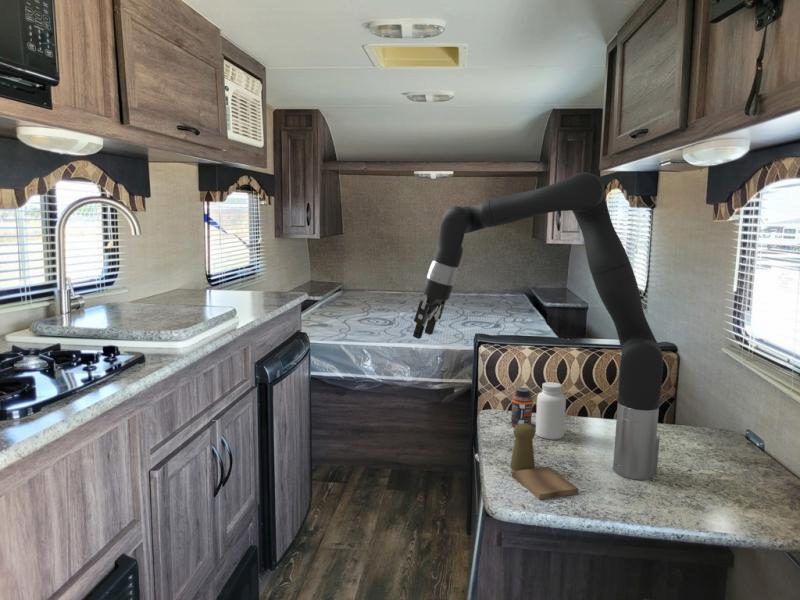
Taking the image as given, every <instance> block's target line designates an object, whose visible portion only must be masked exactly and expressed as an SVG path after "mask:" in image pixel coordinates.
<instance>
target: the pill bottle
mask: <svg viewBox="0 0 800 600" xmlns="http://www.w3.org/2000/svg"><path fill="white" fill-rule="evenodd" d="M562 387H563V386H562V384H561V383H559V382H553V381H549V382H542V387H541V388H542V389H541V392H539V393H538V395H537V397H536V413H535V414H536V418H535V419H536V420H535V435H537V436H538V437H539V438H542V439H545V440H553V441H554V440H561V439H563V438H564V436H565V426H566V405H567V399H566V396H565V395H564V394H563V393H562V392H563V391H562Z"/></svg>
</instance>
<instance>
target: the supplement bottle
mask: <svg viewBox="0 0 800 600" xmlns="http://www.w3.org/2000/svg"><path fill="white" fill-rule="evenodd" d="M530 392H531V390H530V389H529V388H527V387H521V386H520V387H516V389H515V394H514V395H513V396H512V400H511V401H512V402H511V416H510V417H511V421H510V425H512V426H513V427H515V426H516V425H518V424H529V425H531V426H532V417H533V400H534V399H533V397H532V396H531V393H530Z"/></svg>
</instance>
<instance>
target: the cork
mask: <svg viewBox="0 0 800 600" xmlns="http://www.w3.org/2000/svg"><path fill="white" fill-rule="evenodd" d="M513 427H514V426H513ZM513 436H514V437H515V438H514V444H513V448H512V449H513V450H512V455H511V461H510V463H509V464H510V465H509V466H510V467H509V468H510V469H511V470H512V471H519V470H526V469H533V468H536V466H535V454H534V452H535V451H534V443H533V441H534V440H533V439H534V438H535V436H536V429H535V428H534V426H533V425H532V424H531V425H529V424H518V425H516V426H515V427H514V428H513Z"/></svg>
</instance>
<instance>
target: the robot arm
mask: <svg viewBox="0 0 800 600" xmlns="http://www.w3.org/2000/svg"><path fill="white" fill-rule="evenodd" d="M566 211H567V212H568V211H571V212H572V213H573V215H574V217H575V219H576V221H577V224H578V226H579V228H580V230H581V231H580V232H581V234H582V237H583V242H584V243H583V244H584V247H585V248H584V249H585V253H586V259H587V264H588V267H589V271H590V274H591V278H592V280H593V282H594V283H593V284H594V285H595V286H594V287H595V288H596V291H597V293H598V296H599V298H600V299H601V302H602V303H603V305H604V307H605V309H606V310H607V312H608V314H609V316H610V318H611V319H612V322H613V324H614V327H615V329H616V330H615V331H616V333H617V338H618V342H619V345H620V350H621V351H620V352H621V354H620V364H619V377H618V389H617V390H618V393H617V394H618V395H617V406H616V407H617V409H616V422H615V437H614V450H613V451H614V452H613V464H612V469H613V471H614V472H615V473H616V474H617V475H619V476H621V477H624V478H627V479H633V480H637V481H638V480H649V479H652V478H653V477H654V475H657V474H658V463H659V462H658V461H659V452H660V451H659V450H660V449H659V448H660V438H661V437H660V436H659V435H658V424H659V412H660V411H659V410H660V402H661V401H660V400H661V394H662V383H663V373H664V371H663V370H664V356H663V352H662V351H663V350H662V349H661V346H660V345H659V343H658V341H657V339H656V337H655V335H654V334H653V332H652V328H651V327H650V324H649V323H648V320H647V318H646V315H645V312H644V308H643V303H642V298H641V292H640V289H639V286H638V285H639V284H638V281H637V279H636V275H635V272H634V269H633V267H632V264H631V261H630V258H629V255H628V254H627V251H626V249H625V246H624V244H623V243H622V241H621V239H620V237H619V235H618V233H617V231H616V229H615V226H614V225H613V222H612V219H611V216H610V212H609V211H610V210H609V208H608V204H607V199H606V194H605V187H604V184H603V183H602V180H601V179H600V178H599V177H598V176H597V175H595V174H594V173H591V172H586V171H583V172H578V173H576V174H573V175H572V176H569V177H567V178H564V179H562V180H560V181H556V182H555V183H552V184H549V185H547V186H542V187H540V188H536V189H531V190H528V191H523V192H517V193H512V194H507V195H503V196H499V197H494V198H493V197H492V198H490V199H486V200H484V201H482V202H480V203H478V204H473V205H468V206H460V205H454V206H451V207H448V209H447V210H446V211H445V212H444V214H443V216H442V218H441V220H440V221H441V222H440V225H439V226H440V227H439V234H438V243H437V245H436V249H435V251H434V254H433V258H432V261H431V263H430V265H429V267H428V271H427V275H426V278H425V281H424V283H423V287H422V290H421V291H422V293H423V294H424V295H426V298H425V300H422V299H421V300H420V301H419V304H418V307H417V310H416V314H415V316H414V319H413V322H414V323H415V324H416V325H415V328H414V330H413V334H412V337H413V338H415V339H418V340H419V339H420V340H421V338H422V336H423V334H424V333H425V334H426V335H427V334H428V335H433V332H434V330H435V328H436V327H435V326H436V324H437V323H438V322H439V320H440V319H441V318H442V315H443V311H444V308H445V305H446V302H447V301H448V300H449V299H450V297H451V294H452V291H453V288H454V283H455V281H456V279H457V274H458V269H459V266H460V262H461V259H462V256H463V253H464V248H463V241H464V238H465V234H470V233H472V232H476V231H479V230H483V229H486V228H492V227H497V226H503V225H507V224H512V223H516V222H519V221H523V220H526V219H529V218H532V217H536V216H539V215H544V214H549V213H554V212H555V213H556V212H566Z"/></svg>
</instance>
